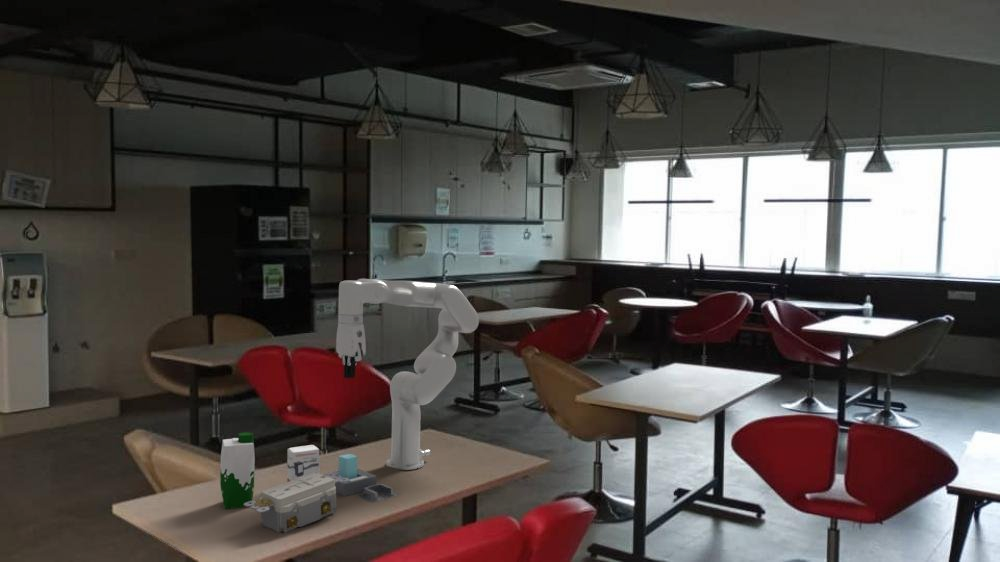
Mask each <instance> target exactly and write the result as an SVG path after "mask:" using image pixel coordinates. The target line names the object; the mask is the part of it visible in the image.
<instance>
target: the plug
mask: <svg viewBox="0 0 1000 562" xmlns="http://www.w3.org/2000/svg"><path fill="white" fill-rule="evenodd" d="M358 462H359V461H358V456H357V455H355V454H352V453H346V454H343V455H339V456H338V471H339V473H338V476H342V478H349V479H351V478H355V477H357V469H358Z"/></svg>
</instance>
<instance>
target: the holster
mask: <svg viewBox="0 0 1000 562" xmlns="http://www.w3.org/2000/svg"><path fill="white" fill-rule="evenodd" d="M356 496H357V497H359V498H361V499H364V500H365V501H368V502H370V503H376V502H377V503H378V502H380V501H384V500H387V499H390V498H394V497H397V496H401V495H400V494H399V493H397V492H394V488H393V487H391V486H389V485H386V484H383V483H377V484H376V485H372V486H368V487H365V488H363V491H362V493H361V494H356Z"/></svg>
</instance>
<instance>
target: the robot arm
mask: <svg viewBox="0 0 1000 562" xmlns="http://www.w3.org/2000/svg"><path fill="white" fill-rule="evenodd" d="M382 303H385V304H390V305H391V304H392V305H396V306H401V307H411V308H412V307H414V308H432V309H433V308H435V309H441V311H440V312H439V314H438V321H437V322H438V324H437V325H438V329H437V330H438V331H437V335H436V337H435V338H434V339H433V340H432V342H431V343H430V344H429V345H428V346H427V347H426V348H425V349H424V350H423V351H422V352H421V353H420V354H419V355H418V356H417V358H416V359H415V361H414V363H413V368H414V371H415V372H411V371H406V370H405V371H399V372H398V373H396V374H394V375H393V377H392V379H391V381H390V384H389V392H390V398H391V409H392V410H391V411H392V412H391V413H392V414H391V447H390V448H391V449H390V450H391V452H390V454H391V455H390V458H389V459H387V460H386V467H388V468H389V467H390V468H393V469H396V470H399V471H410V470H411V471H412V470H417V468H418V469H420V468H422V467H423V466H424V465H425V461H424V459H423V457H426V456H431V450H430V449H424V450H423V449H421V419H422V418H421V417H422V416H421V413H422V412H421V407H420V406H424V405H426V406H427V404H429V403H431V402H432V401H434V399H436V398H437V397H438V395H439V394H440V393H441V392H442V391H443V390H444V389H445V388H446V387H447V386H448V384H449V383H450V382H451V381H452V380H453V378H454V377H455V375H456V371H457V363H456V360H455V358H454V357H453V356H454V354H455V353H456V352H457V350H458V348H459V347H458V346H459V333H461V334H471V333H473V332H474V331H476V330H477V329H478V326H479V322H480V319H479V314H478V313H477V311H476V309H475V308H474V307H473V305H472V304H471V302H470V301H469V300H468V298H467V297H466V296H465V295H464V293H463V292H462V291H461V290H460V289H459V288H458V287H457V286H455V285H454V284H447V283H439V282H438V283H437V282H427V281H413V280H385V279H374V278H373V279H371V278H370V279H369V278H358V279H357V280H352V279H351V280H343V281H340V282H339V285H338V315H337V316H338V317H337V318H338V323H337V329H336V339H335V341H336V342H335V345H336V346H335V349H336V350H335V351H336V353H337V354H338V358H340V359H341V360H342V365H343V378H345V379H351V378H352V379H354V378H356V366H357V362H361V361H362V357H364V356H366V353H367V352H366V351H367V348H366V347H367V343H366V331H365V326H364V323H363V322H364V321H363V319H364V317H363V314H364V311H363V310H364V304H374V305H375V304H376V305H378V304H382Z"/></svg>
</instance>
